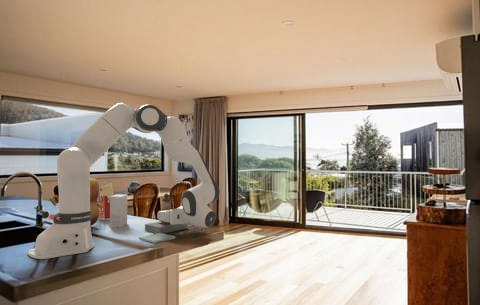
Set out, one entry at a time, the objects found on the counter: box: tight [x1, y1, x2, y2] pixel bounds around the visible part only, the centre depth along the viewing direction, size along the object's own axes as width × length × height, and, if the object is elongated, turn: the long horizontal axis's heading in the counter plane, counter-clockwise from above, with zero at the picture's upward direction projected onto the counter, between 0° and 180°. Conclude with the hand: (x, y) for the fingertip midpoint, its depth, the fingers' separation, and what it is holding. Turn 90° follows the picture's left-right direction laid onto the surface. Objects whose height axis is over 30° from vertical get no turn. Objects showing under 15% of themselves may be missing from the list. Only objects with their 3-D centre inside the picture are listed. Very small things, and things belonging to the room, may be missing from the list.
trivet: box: [138, 233, 176, 244], centre depth 149 cm, size 11×11×1 cm
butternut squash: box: [90, 177, 100, 226], centre depth 172 cm, size 14×13×25 cm
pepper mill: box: [160, 193, 172, 225], centre depth 168 cm, size 5×5×18 cm
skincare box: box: [109, 193, 128, 228], centre depth 177 cm, size 8×7×16 cm
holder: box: [144, 220, 188, 234], centre depth 168 cm, size 16×12×3 cm
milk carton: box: [98, 182, 115, 221], centre depth 197 cm, size 9×9×20 cm
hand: (167, 211), depth 167 cm, fingers open, 8 cm apart
